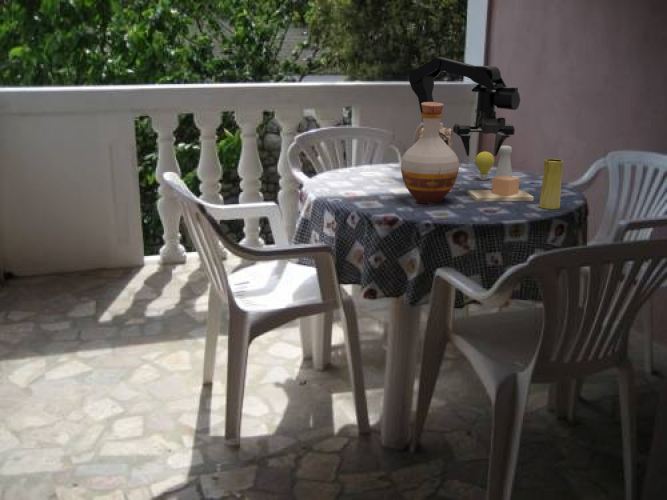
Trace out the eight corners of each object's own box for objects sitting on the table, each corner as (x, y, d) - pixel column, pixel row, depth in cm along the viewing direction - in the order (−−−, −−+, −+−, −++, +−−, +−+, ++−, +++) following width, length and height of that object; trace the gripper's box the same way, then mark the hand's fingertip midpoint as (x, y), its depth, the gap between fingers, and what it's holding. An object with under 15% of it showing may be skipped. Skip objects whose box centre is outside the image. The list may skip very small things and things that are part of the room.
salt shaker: (511, 185, 246) (514, 147, 242) (494, 184, 247) (497, 146, 243) (511, 181, 251) (514, 145, 248) (494, 181, 252) (497, 144, 249)
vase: (536, 204, 218) (541, 158, 214) (557, 204, 218) (561, 158, 214) (541, 209, 212) (546, 161, 208) (562, 209, 212) (567, 161, 208)
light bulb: (497, 179, 255) (499, 152, 252) (483, 181, 251) (485, 153, 248) (483, 176, 260) (485, 149, 257) (470, 178, 256) (471, 151, 253)
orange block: (518, 193, 228) (519, 177, 226) (508, 196, 223) (509, 180, 222) (501, 190, 232) (503, 175, 230) (491, 193, 228) (492, 177, 226)
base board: (476, 201, 222) (477, 188, 220) (467, 193, 232) (468, 181, 231) (533, 200, 223) (534, 188, 222) (521, 193, 233) (522, 181, 232)
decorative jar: (451, 168, 276) (453, 121, 270) (448, 174, 265) (451, 125, 260) (420, 167, 278) (422, 120, 273) (416, 172, 267) (418, 124, 262)
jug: (388, 195, 229) (390, 100, 221) (437, 191, 236) (441, 99, 227) (415, 209, 212) (419, 106, 203) (468, 204, 218) (474, 104, 209)
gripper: (464, 109, 217) (460, 160, 222) (523, 110, 219) (518, 160, 224) (454, 105, 228) (450, 154, 233) (510, 106, 230) (506, 154, 235)
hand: (481, 155), depth 231 cm, fingers open, 9 cm apart
